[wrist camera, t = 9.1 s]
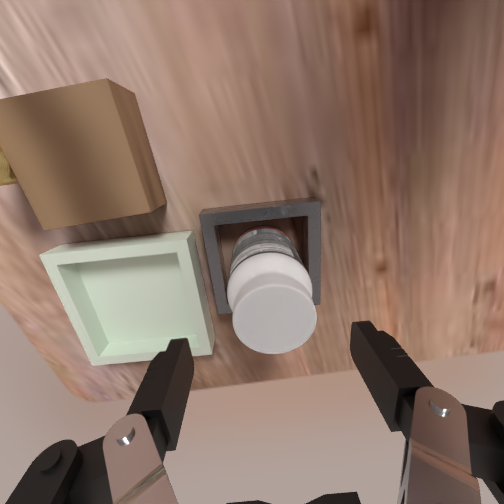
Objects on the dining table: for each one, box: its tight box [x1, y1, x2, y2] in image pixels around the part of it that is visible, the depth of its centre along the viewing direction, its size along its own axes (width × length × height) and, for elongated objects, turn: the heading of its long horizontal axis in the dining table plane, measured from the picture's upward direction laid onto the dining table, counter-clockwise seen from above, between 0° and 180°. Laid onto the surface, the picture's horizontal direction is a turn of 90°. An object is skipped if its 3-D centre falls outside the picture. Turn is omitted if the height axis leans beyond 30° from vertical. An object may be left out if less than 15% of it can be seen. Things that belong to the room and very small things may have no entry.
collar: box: [199, 197, 321, 314], centre depth 21 cm, size 10×10×2 cm
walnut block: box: [0, 78, 167, 230], centre depth 17 cm, size 8×8×4 cm
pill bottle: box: [227, 226, 317, 354], centre depth 18 cm, size 6×6×10 cm
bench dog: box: [0, 147, 19, 186], centre depth 17 cm, size 3×3×5 cm
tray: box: [39, 230, 215, 366], centre depth 23 cm, size 12×12×2 cm
